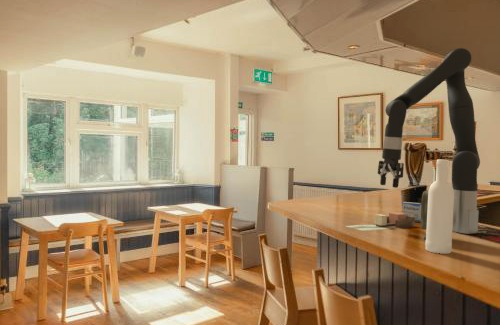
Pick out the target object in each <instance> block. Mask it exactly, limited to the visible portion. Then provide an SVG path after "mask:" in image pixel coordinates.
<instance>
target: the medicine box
mask: <svg viewBox="0 0 500 325" xmlns="http://www.w3.org/2000/svg"><path fill="white" fill-rule="evenodd" d="M401 210H402V212H401V213H403V214H406V215H407V216H412V217H415V223H416V222H418V223H420V222H421V202H420V203H419V202H409V201H408V202H407V201H403V202H402V209H401Z"/></svg>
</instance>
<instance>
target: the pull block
mask: <svg viewBox="0 0 500 325" xmlns="http://www.w3.org/2000/svg"><path fill="white" fill-rule="evenodd" d="M387 216H389V223H387ZM403 219H406V214H403V213H402V212H398V211H396V212H389V213H388V215H387V214H386V215H385V214H381V213H375V214H374V223H373V224H376V226H377V227H385V226H395V222H396V220H403Z"/></svg>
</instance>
